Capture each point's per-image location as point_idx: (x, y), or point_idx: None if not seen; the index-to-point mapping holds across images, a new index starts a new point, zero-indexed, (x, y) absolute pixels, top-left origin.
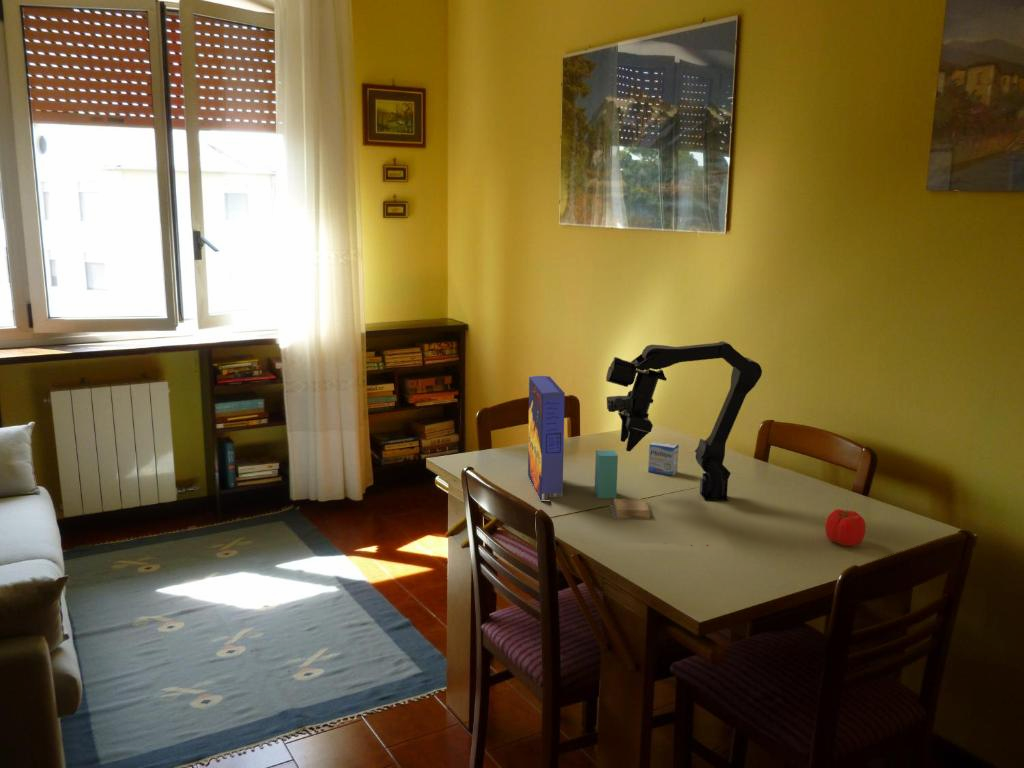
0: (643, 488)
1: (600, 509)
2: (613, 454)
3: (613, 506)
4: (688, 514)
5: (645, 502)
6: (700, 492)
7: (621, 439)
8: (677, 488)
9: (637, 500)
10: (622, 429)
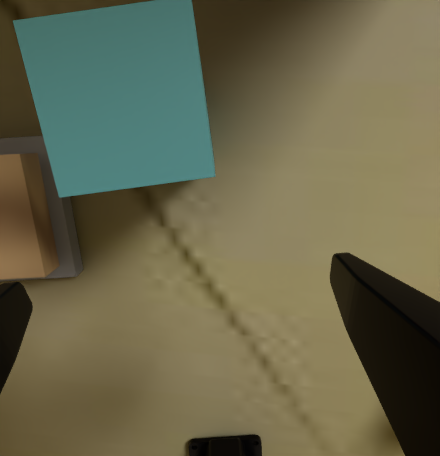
0: (302, 277)
1: None
2: (85, 163)
3: (34, 152)
4: (65, 383)
5: (9, 276)
6: (227, 442)
7: (339, 265)
8: (302, 379)
9: (23, 248)
10: (407, 329)
